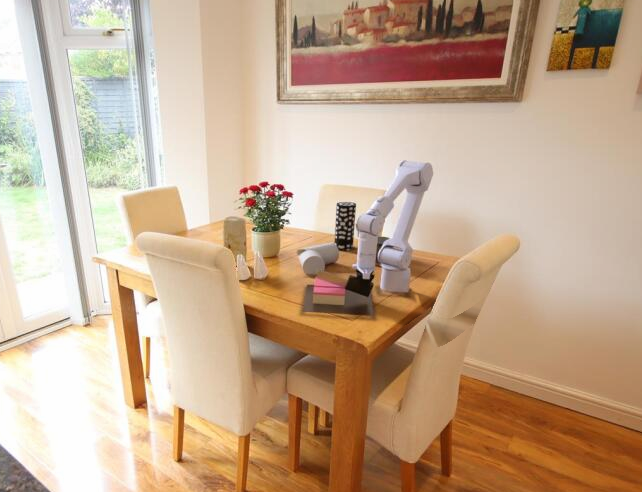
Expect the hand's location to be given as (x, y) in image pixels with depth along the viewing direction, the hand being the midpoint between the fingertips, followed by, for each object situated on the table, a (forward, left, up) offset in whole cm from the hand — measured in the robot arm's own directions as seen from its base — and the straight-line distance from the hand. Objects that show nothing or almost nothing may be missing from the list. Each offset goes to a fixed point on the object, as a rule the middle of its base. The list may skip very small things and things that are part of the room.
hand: (363, 291), depth 151 cm
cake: (+11, -5, -3) cm, 12 cm away
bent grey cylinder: (+16, -33, -4) cm, 37 cm away
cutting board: (+8, 0, -4) cm, 9 cm away
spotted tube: (+6, -61, -4) cm, 61 cm away
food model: (+50, -32, -4) cm, 59 cm away
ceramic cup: (-7, -43, -4) cm, 44 cm away
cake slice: (+11, +3, -3) cm, 12 cm away
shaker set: (+40, -17, -4) cm, 44 cm away
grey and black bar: (+7, 0, +1) cm, 7 cm away
